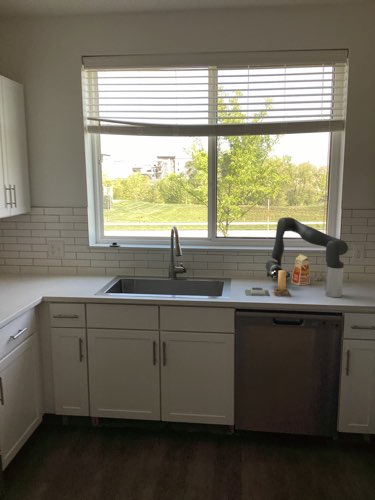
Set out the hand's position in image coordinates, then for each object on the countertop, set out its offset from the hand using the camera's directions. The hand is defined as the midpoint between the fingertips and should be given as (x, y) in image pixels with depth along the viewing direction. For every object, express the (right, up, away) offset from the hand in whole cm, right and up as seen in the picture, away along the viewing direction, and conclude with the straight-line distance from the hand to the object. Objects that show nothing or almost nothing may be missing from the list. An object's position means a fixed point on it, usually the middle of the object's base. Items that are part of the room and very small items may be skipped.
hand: (279, 276), depth 255 cm
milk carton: (+19, -6, +21) cm, 29 cm away
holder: (-1, -11, -9) cm, 14 cm away
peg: (-1, -10, -10) cm, 14 cm away
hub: (-15, -10, -6) cm, 19 cm away
